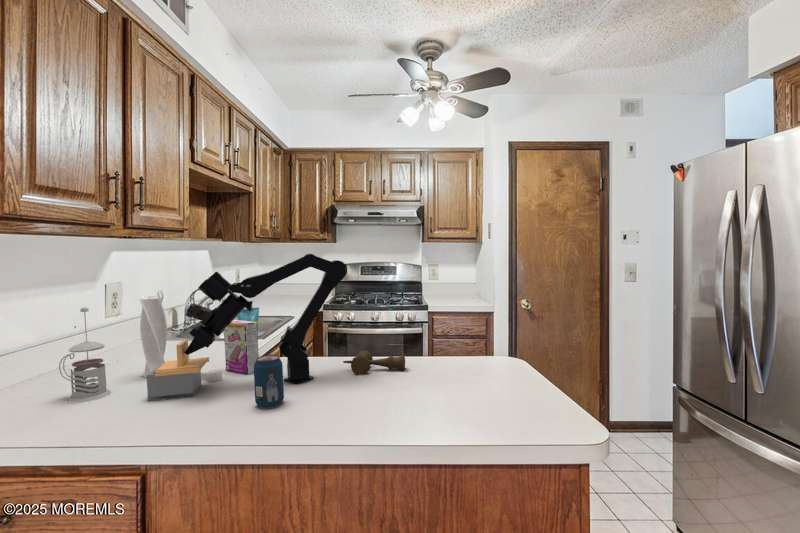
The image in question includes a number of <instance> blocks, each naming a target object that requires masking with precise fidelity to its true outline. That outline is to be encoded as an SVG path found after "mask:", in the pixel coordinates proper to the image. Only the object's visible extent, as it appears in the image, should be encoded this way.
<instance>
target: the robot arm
mask: <svg viewBox="0 0 800 533" xmlns="http://www.w3.org/2000/svg"><path fill="white" fill-rule="evenodd" d="M308 268H313V269H315V270H319V271H321V272H324V273H323V275H322V278H321V281H320V284H319V286H318V288H317V289H316V291H315V292H314V294H313V296H312V297H311V299H310V300H309V303H307V306H306V307H305V309H304V310H303V312H302V314H301V316H300V317H299V319H298V320H297V322H296V324H294V325H293V326H292V327H291V326H289V325H287V327H286V330H285V332H284V333H283V334H282V335H281V336H280V340H279V342H280V347H279V350H280V353H281V355H283V356H284V357H286V358H287V364H286V367H287V368H286V369H287V377H285V378H283V382H288V383H291V384H295V385H299V384H301V383H304V382H308V381H310V380H313V379H314V378H315V376H313V375H311V374H310V359H309V358H308V357H309V355H308V354H309V353H308V348H307V347H306V346H305V345H303V343H304V341H305V339H306V335H307V332H308V330H309V328H310V327H311V325H312V323H313V322H314V320H315V319H316V317H317V315H318V314H319V312H320V311H321V309H322V307H323V306H324V303H325V302H326V301H327V299H328V297H329V296H330V294H331V292H332V291H333V290H334V289H335V288H336V287H337V286H338V285H339V283H340V282H342V281H343V279H344V278H345V277H346V275H347V273H348V267H347V265H346V263H344V261H341V260H336V259H334V260H331V261H330V260H328V259H325V258H323V257H319V256H317V255H315V254H313V253H306V254H305V255H304V256H302V257H300V258H297V259H295V260H293V261H291V262H288V263H286V264H284V265H282V266H280V267H278V268H276V269H275V268H274V270H270V271H268V272H265V273H260V274H257V275H253V276H249V277H247V278H245V279H242V281H241V282H234V283H231V282H229V281H228V280H227V279H226V278H225V277H223V275H222V274H221V273H220V272H219V271H215V272H214V273H212V274H211V275H210V276H209V277H208V278H207V279H204V281H203V282H202V283H201V284H200V285H199V286H198V287H197V288H198V290H199V291H200V292H202V293H203V294H204V295H205V296H207V297H208V298H209V299H211V301H213V302H215V301H218V302H221V301H222V300H223V299H224V298H225V297H226V296H227V295H228V296H227V297H226V298H225V299H224V300H223V301H222V302H221V303H220V304H219V305H218V306H217V307H214V308H213V309H210V308H208V307H205V306H202V305H199V304H198V303H191V304H189V306H188V308H187V309H186V313H185V317H188V318H192V319H195V320H199V321H200V322H199V323H200V324H199V325H198V324H197V325H195V326H194V327H193V328H192V329H191V330H190V331H189V334H190V336H192V337H193V339H192V340H191V342H189V344H188V348H187V350H186V351H185V354H187V355H189V356H190V355H191V354H193V353H194V352H195V353H196V352H198V351H199V350H201V349H203V348H207V349H208V348H209V347H210V346H211V345H212V344H213V343H214V342H215V341H216V337H220V335H221V334H222V333H224V329H225V328H226V327H227V326H228V325H229V324H230V323H231V322H232V321H233V320H236V317H237V318H238V315H239V314H240V313H241V311H242V310H243V309H248V310H249V311H251V310H252V309H253V308H254V307H253V303H254V301H253V300H248V299H253V298H255V297H257V296H259V295H260V294H261V293H263V292H264V291H266V290H267V289H268V288H270V287H272V286H273V285H274V284H276V283H278V282H281V281H282V280H285V279H287V278H289V277H292V276H294V275H295V274H298V273H300V272H302V271H304V270H306V269H308ZM235 293H236V294H235ZM237 294H240V295H239V296H238V295H237Z"/></svg>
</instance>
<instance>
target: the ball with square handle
mask: <svg viewBox="0 0 800 533" xmlns="http://www.w3.org/2000/svg"><path fill="white" fill-rule="evenodd" d="M202 380H203V381H206V382H207V383H215V381H216V382H219V380H220V381H221V380H223V370H222V369H212V370H209V371H201V381H202Z"/></svg>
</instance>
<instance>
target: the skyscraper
mask: <svg viewBox="0 0 800 533" xmlns="http://www.w3.org/2000/svg"><path fill="white" fill-rule="evenodd" d="M160 294H161V296H160ZM139 301H140V304H141V306H142V307H141V312H140V320H139V322H140V324H139V326H140V327H139V329H140V330H139V331H140V332H139V333H140V341H141V345H142V349H143V350H142V351H143V354H144V356H145V360H146V362H145V367H144V370H143V371H144V372H143V375H140V377H141V378H144V379H145V378H146V379H147V375H148V374H149V373H150V372H151V371H153V370H154V369H155V368H156V367H157V366H159V365H163V364H164V363H165V362H166V361H165V359H164V357H165V352H166V348H167V340H168V339H167V338H168V326H167V318H166V314H165V310H164V307H163V301H164V293H163V291H162V290H158V291H157V293H156V294H150V295H147V297H146V296H145V295H142V296H140V297H139Z"/></svg>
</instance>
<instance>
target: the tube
mask: <svg viewBox="0 0 800 533" xmlns="http://www.w3.org/2000/svg"><path fill="white" fill-rule="evenodd" d="M259 313H260V307H253V309H252V310H251V311H249V310H248V309H246V308H244V309H243V310H242V311H241V313H240V314H239V315H238V316H237V320H243V321H252V322H257V336H258V335H259ZM258 337H259V336H258Z"/></svg>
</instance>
